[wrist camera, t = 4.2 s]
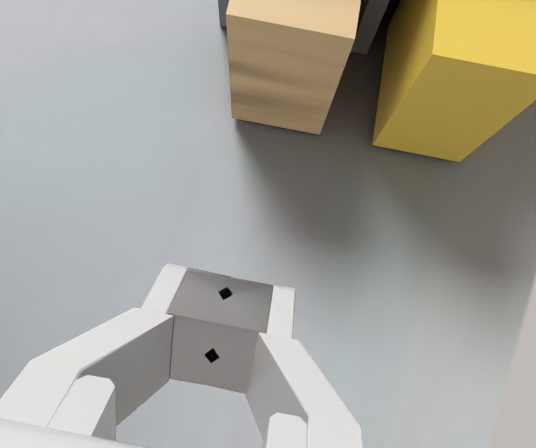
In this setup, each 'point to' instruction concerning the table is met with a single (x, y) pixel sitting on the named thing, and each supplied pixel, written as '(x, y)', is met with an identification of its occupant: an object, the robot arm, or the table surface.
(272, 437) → the robot arm
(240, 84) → the light wood block
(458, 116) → the yellow rectangular block
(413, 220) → the table surface
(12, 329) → the table surface
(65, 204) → the table surface
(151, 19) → the table surface
